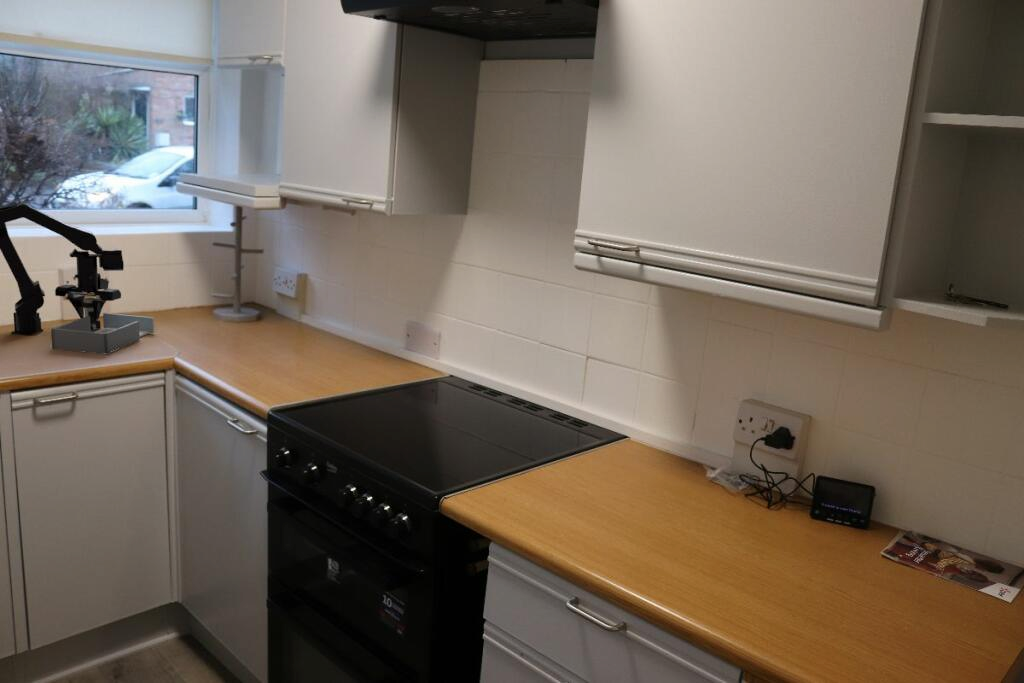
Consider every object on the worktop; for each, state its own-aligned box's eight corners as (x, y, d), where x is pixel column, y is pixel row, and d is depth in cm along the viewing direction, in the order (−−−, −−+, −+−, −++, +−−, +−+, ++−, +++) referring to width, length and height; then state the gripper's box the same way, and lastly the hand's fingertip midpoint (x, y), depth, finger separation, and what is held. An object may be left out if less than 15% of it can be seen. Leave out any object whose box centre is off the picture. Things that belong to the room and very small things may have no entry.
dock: (88, 334, 254) (87, 316, 252) (139, 339, 253) (139, 321, 251) (52, 348, 236) (51, 328, 235) (107, 354, 235) (106, 334, 234)
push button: (86, 332, 256) (84, 301, 253) (74, 330, 258) (72, 299, 256) (104, 329, 262) (102, 298, 259) (93, 326, 264) (91, 296, 261)
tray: (105, 327, 262) (104, 312, 261) (154, 332, 262) (153, 317, 260) (71, 340, 245) (70, 324, 244) (123, 345, 244) (123, 329, 243)
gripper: (129, 269, 263) (131, 316, 266) (74, 264, 264) (76, 311, 267) (110, 275, 252) (112, 323, 255) (52, 269, 253) (55, 318, 256)
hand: (89, 319), depth 259 cm, fingers closed on push button, 4 cm apart
